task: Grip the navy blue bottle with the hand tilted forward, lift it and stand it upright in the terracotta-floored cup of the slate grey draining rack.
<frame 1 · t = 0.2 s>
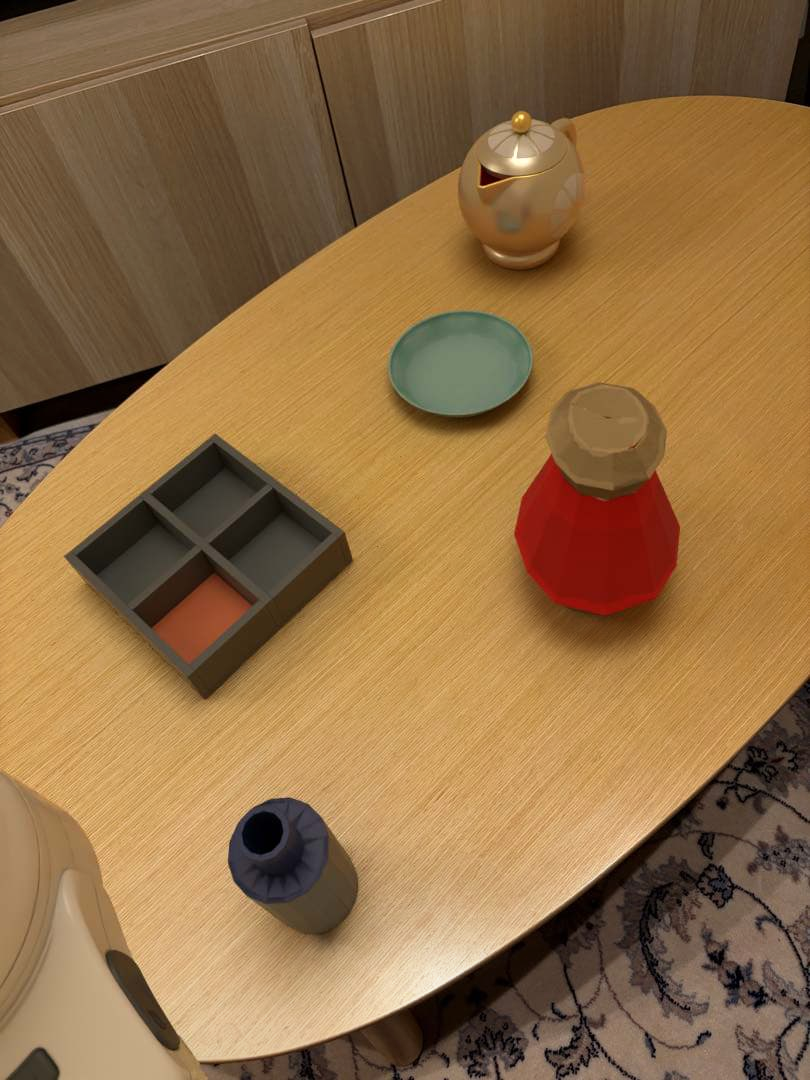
hand: (112, 974, 37), 27 cm above the table, tool pointing down, fingers open, 8 cm apart
saucer: (461, 379, 90), on the table
teapot: (528, 241, 101), on the table
navy bottle: (315, 887, 64), on the table
rack: (218, 571, 80), on the table
bottle: (591, 568, 76), on the table
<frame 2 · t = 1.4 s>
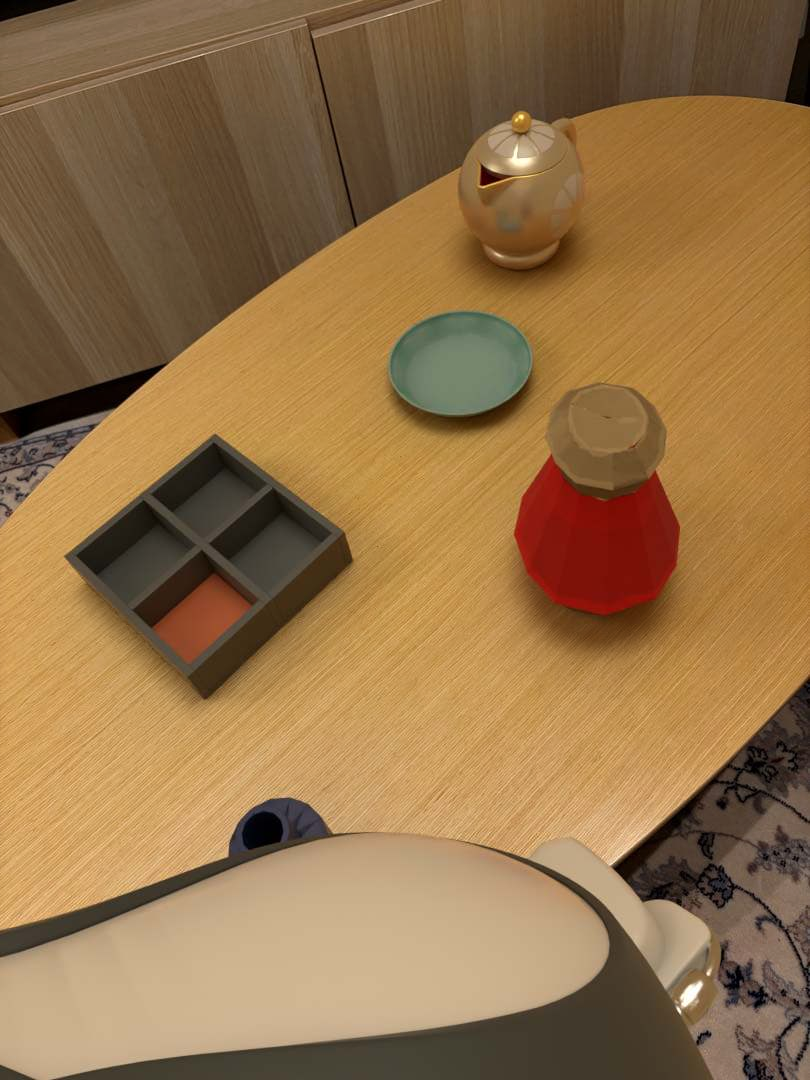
hand: (358, 984, 37), 26 cm above the table, tool tilted 45°, fingers open, 8 cm apart
nothing on the table moved.
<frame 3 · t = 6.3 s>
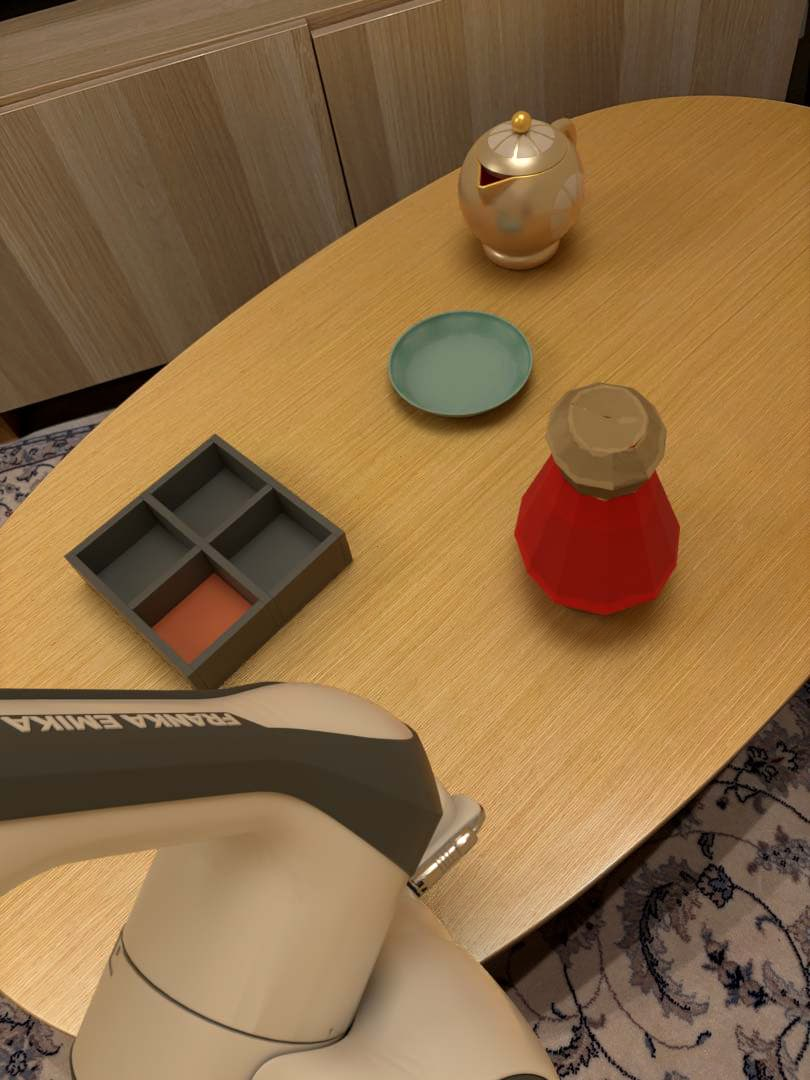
hand: (283, 852, 57), 9 cm above the table, tool tilted 45°, fingers closed on navy bottle, 6 cm apart
navy bottle: (315, 887, 64), on the table, touching gripper
everything else where it was.
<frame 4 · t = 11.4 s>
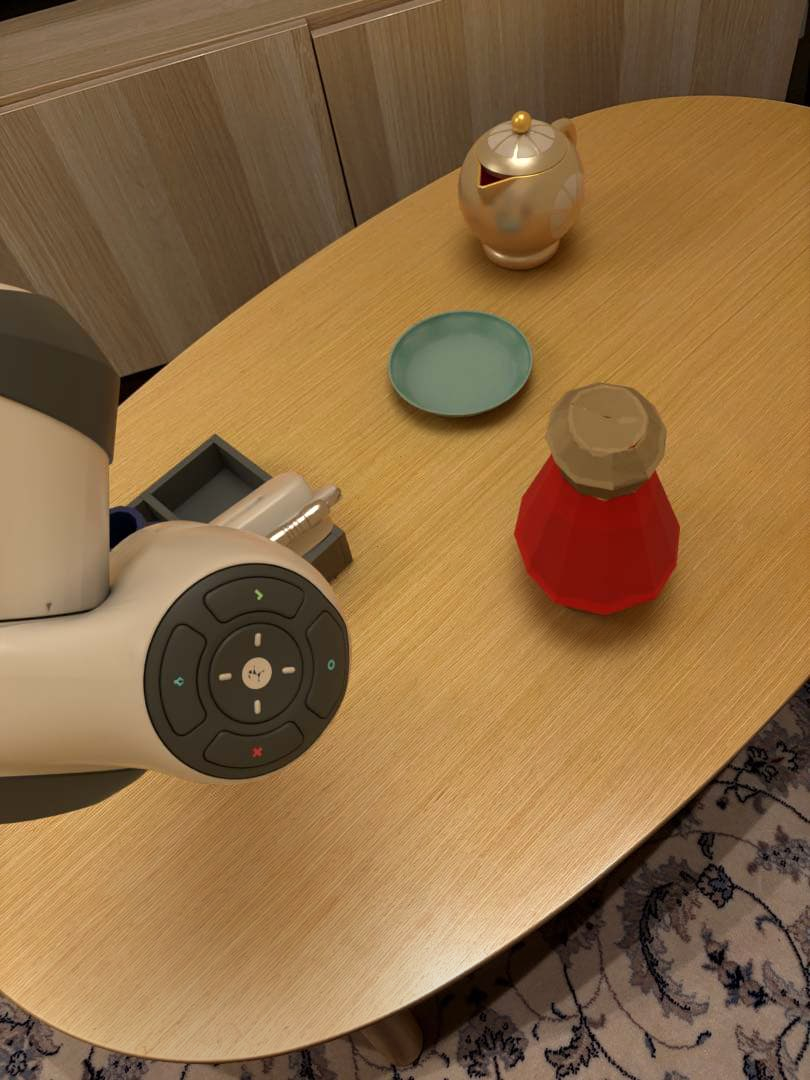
hand: (153, 585, 55), 21 cm above the table, tool tilted 45°, fingers closed on navy bottle, 6 cm apart
navy bottle: (202, 652, 62), point 12 cm above the table, touching gripper
everything else where it was.
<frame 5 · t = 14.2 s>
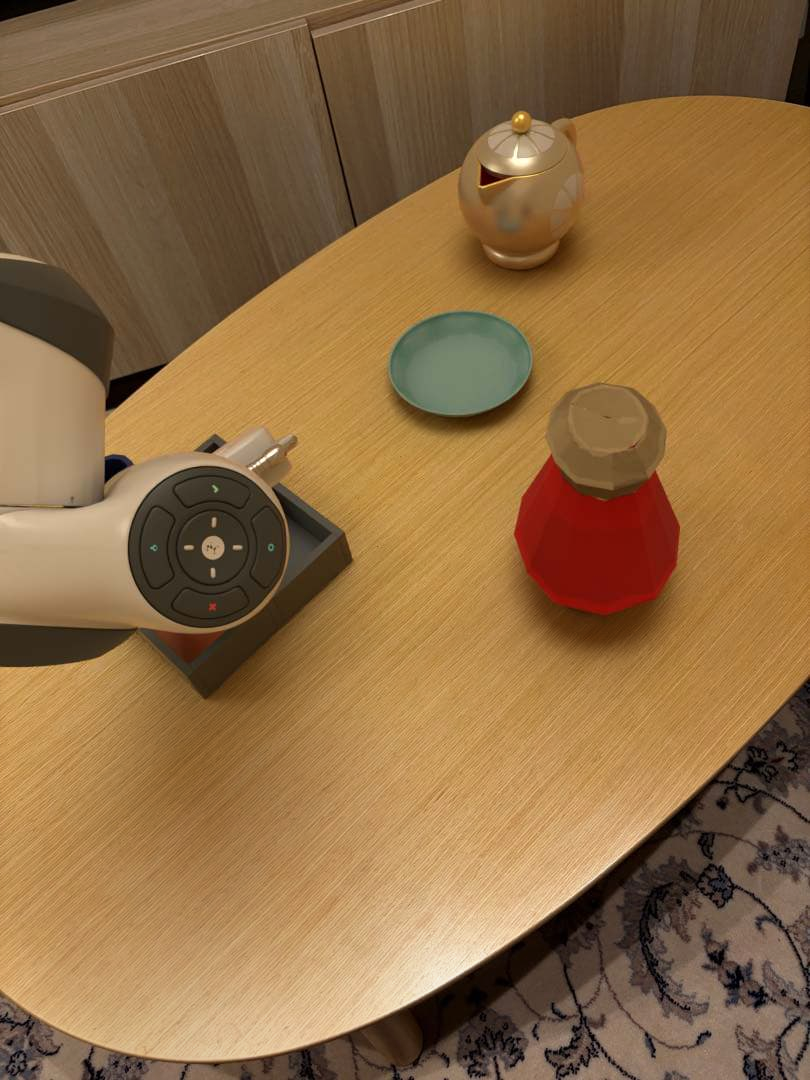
hand: (142, 526, 64), 16 cm above the table, tool tilted 45°, fingers closed on navy bottle, 6 cm apart
navy bottle: (186, 590, 71), point 7 cm above the table, touching gripper
everything else where it was.
when the fingers open (10 cm above the table, at t = 16.5 s): navy bottle stays where it is, resting on rack.
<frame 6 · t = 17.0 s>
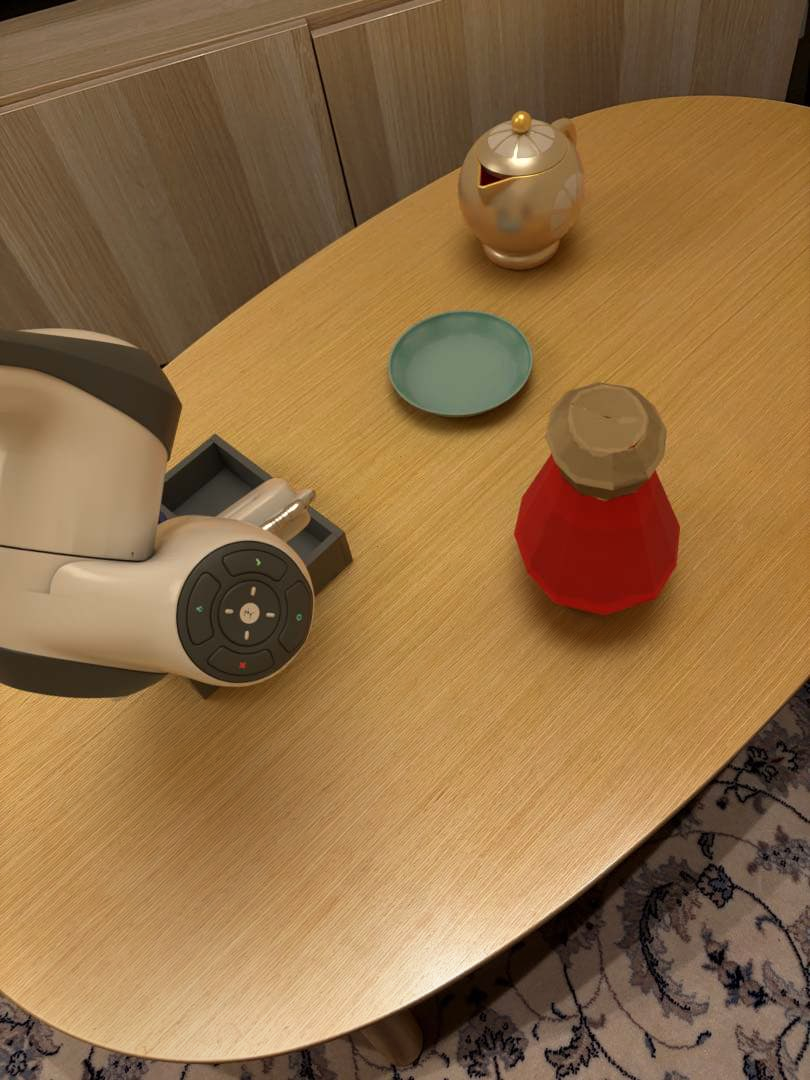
hand: (170, 567, 69), 10 cm above the table, tool tilted 45°, fingers open, 8 cm apart
navy bottle: (209, 624, 76), point 1 cm above the table, touching rack
everything else where it was.
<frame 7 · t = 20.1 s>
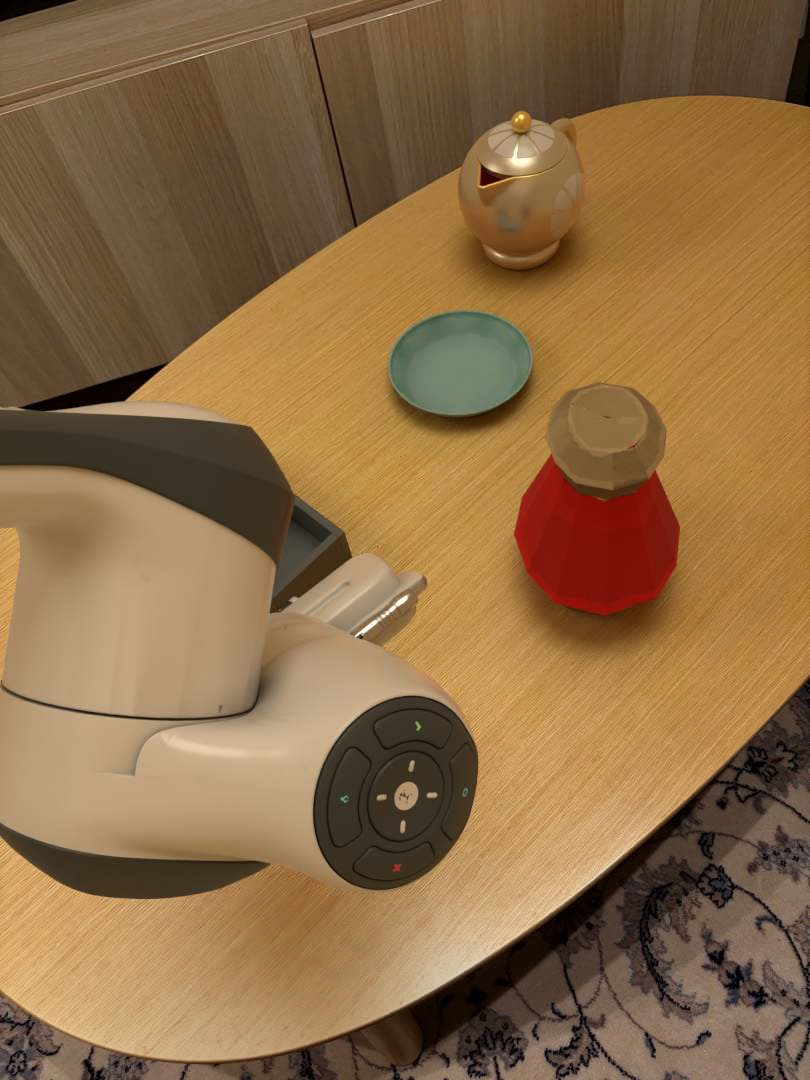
hand: (235, 655, 58), 16 cm above the table, tool tilted 45°, fingers open, 8 cm apart
nothing on the table moved.
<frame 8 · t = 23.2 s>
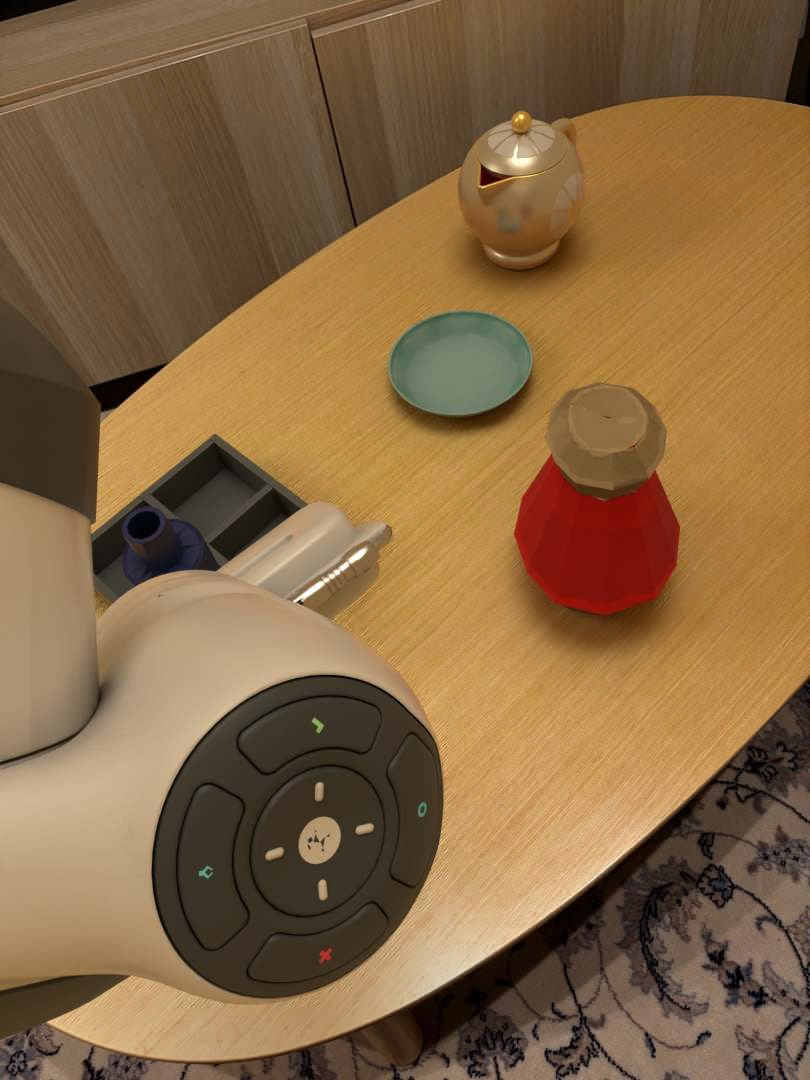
hand: (158, 634, 46), 27 cm above the table, tool tilted 45°, fingers open, 8 cm apart
nothing on the table moved.
at the end: navy bottle 0.0 cm from the target spot in the rack, point 1.0 cm above the rack's base; navy bottle tilted 0°; the gripper is holding nothing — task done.
